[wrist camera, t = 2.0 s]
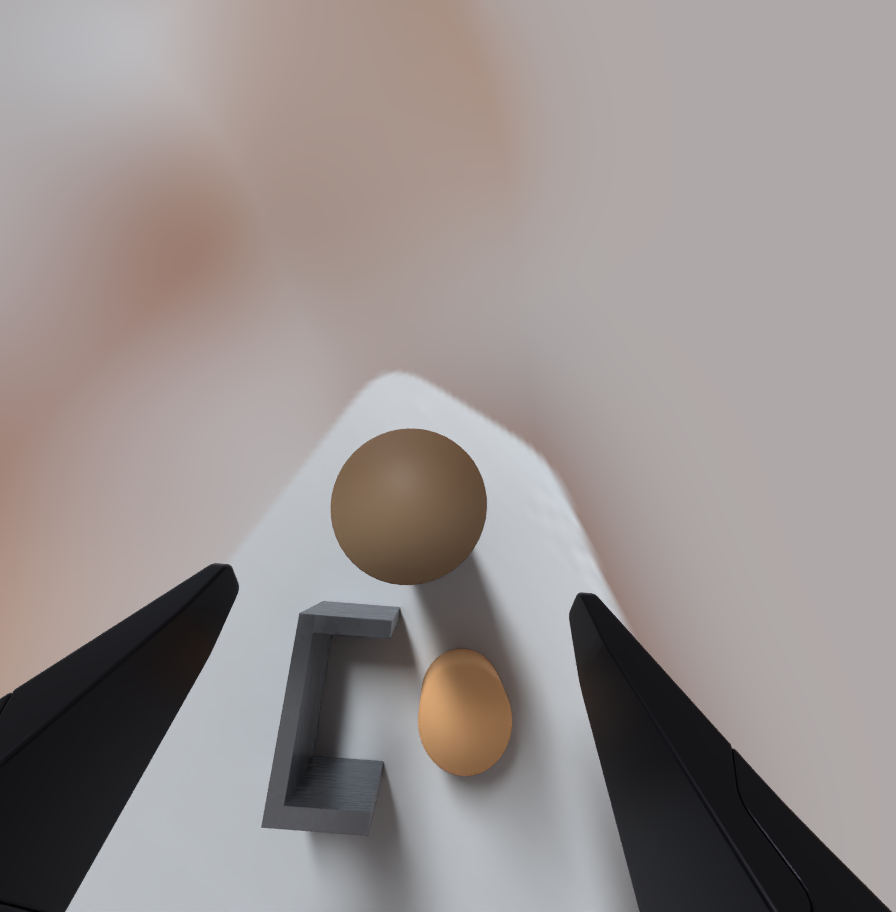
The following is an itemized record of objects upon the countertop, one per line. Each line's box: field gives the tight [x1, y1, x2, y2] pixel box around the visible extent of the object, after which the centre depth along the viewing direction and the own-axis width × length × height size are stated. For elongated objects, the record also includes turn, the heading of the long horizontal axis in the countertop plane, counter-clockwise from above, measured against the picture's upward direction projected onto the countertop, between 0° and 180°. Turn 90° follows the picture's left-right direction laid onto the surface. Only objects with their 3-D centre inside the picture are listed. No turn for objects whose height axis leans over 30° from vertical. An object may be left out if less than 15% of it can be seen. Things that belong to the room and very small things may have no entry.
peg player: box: [331, 429, 487, 585], centre depth 13 cm, size 4×4×11 cm
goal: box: [261, 601, 400, 836], centre depth 15 cm, size 7×4×3 cm, turn 176°
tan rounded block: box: [418, 649, 512, 776], centre depth 15 cm, size 4×4×2 cm
